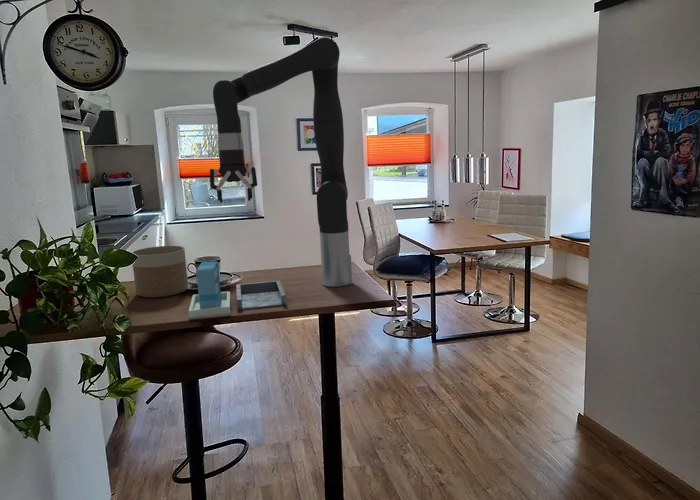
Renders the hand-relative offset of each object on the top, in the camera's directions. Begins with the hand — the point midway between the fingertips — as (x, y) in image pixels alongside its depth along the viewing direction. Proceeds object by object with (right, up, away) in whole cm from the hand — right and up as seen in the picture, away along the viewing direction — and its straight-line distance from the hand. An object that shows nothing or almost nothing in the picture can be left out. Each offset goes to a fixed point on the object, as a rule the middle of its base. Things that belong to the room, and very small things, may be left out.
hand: (235, 201), depth 164 cm
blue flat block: (-3, -31, -16) cm, 35 cm away
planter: (-24, -29, +5) cm, 38 cm away
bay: (+9, -30, -8) cm, 32 cm away
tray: (-3, -32, -16) cm, 36 cm away
